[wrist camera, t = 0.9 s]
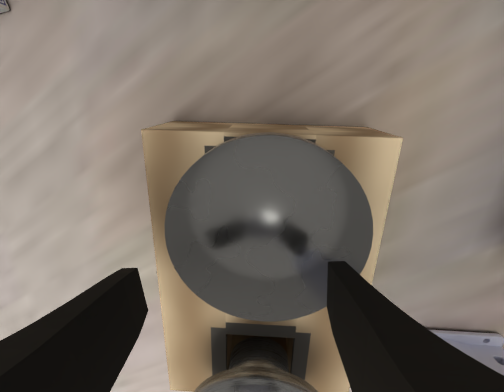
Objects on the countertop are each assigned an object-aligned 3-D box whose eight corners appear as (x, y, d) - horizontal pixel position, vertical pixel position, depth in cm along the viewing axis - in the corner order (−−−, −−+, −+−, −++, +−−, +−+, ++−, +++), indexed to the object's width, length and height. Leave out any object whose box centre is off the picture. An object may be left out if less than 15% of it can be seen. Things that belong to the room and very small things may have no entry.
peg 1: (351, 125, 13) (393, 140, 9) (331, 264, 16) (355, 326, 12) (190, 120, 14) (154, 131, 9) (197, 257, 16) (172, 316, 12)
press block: (367, 127, 18) (403, 138, 13) (331, 343, 25) (346, 402, 20) (172, 121, 18) (141, 129, 14) (188, 334, 25) (170, 389, 20)
